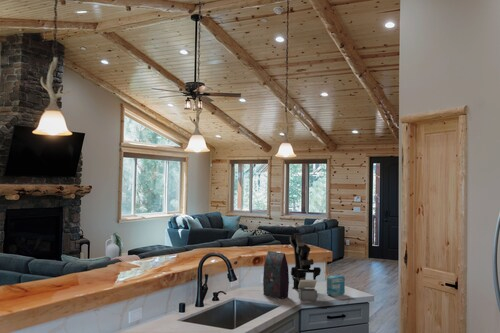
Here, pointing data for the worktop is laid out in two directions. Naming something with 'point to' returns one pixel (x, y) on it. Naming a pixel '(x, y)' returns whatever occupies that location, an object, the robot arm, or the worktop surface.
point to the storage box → (307, 294)
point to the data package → (335, 285)
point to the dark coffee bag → (276, 275)
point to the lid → (307, 283)
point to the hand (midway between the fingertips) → (307, 282)
